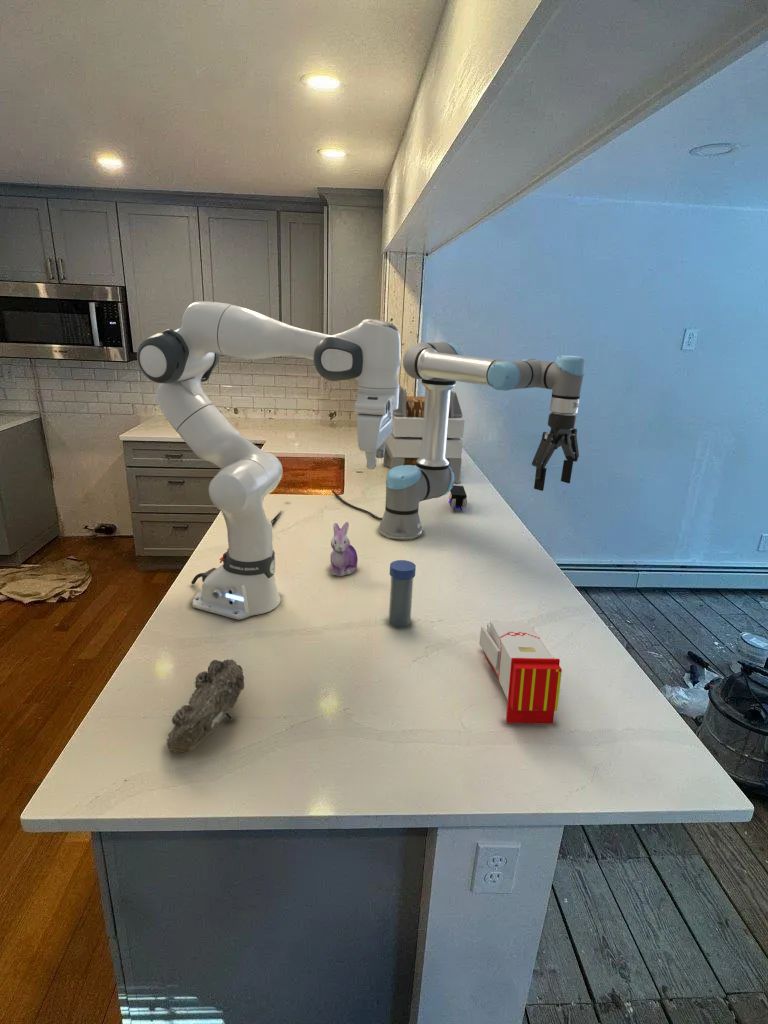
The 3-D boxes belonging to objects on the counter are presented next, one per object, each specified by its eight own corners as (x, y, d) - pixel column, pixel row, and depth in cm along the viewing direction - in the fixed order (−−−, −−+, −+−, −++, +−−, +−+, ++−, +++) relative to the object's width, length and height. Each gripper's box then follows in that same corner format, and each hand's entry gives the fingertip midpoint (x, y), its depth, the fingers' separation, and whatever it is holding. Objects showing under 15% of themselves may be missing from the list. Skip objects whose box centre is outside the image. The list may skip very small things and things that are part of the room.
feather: (288, 505, 226) (290, 501, 226) (271, 529, 199) (273, 524, 199) (284, 503, 226) (287, 499, 225) (266, 526, 199) (269, 522, 199)
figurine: (335, 579, 164) (336, 531, 159) (322, 565, 172) (322, 519, 167) (364, 574, 168) (366, 527, 163) (350, 560, 177) (351, 515, 172)
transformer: (382, 463, 289) (386, 382, 275) (445, 464, 293) (451, 384, 279) (390, 482, 257) (394, 392, 243) (460, 483, 261) (468, 394, 247)
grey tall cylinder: (385, 625, 142) (388, 569, 137) (393, 614, 147) (396, 560, 142) (406, 630, 140) (409, 573, 135) (413, 619, 145) (417, 564, 140)
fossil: (192, 660, 117) (244, 628, 112) (224, 691, 120) (276, 661, 115) (142, 746, 98) (202, 712, 93) (182, 779, 101) (242, 748, 96)
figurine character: (467, 516, 223) (461, 500, 237) (469, 499, 220) (463, 483, 233) (450, 516, 223) (446, 499, 236) (452, 498, 220) (447, 483, 233)
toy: (526, 605, 135) (570, 665, 105) (521, 658, 137) (563, 730, 108) (475, 604, 134) (506, 664, 105) (472, 657, 137) (500, 729, 108)
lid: (385, 576, 137) (386, 567, 137) (394, 566, 143) (395, 558, 142) (410, 582, 135) (410, 573, 134) (418, 571, 141) (419, 562, 140)
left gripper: (373, 392, 131) (371, 450, 136) (352, 406, 112) (351, 473, 117) (400, 394, 130) (397, 453, 135) (383, 408, 111) (381, 476, 116)
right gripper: (548, 419, 148) (537, 496, 155) (598, 411, 163) (586, 482, 171) (525, 414, 153) (515, 489, 160) (575, 407, 169) (564, 476, 176)
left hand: (375, 462), depth 126 cm, fingers open, 8 cm apart
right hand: (552, 485), depth 166 cm, fingers open, 13 cm apart
